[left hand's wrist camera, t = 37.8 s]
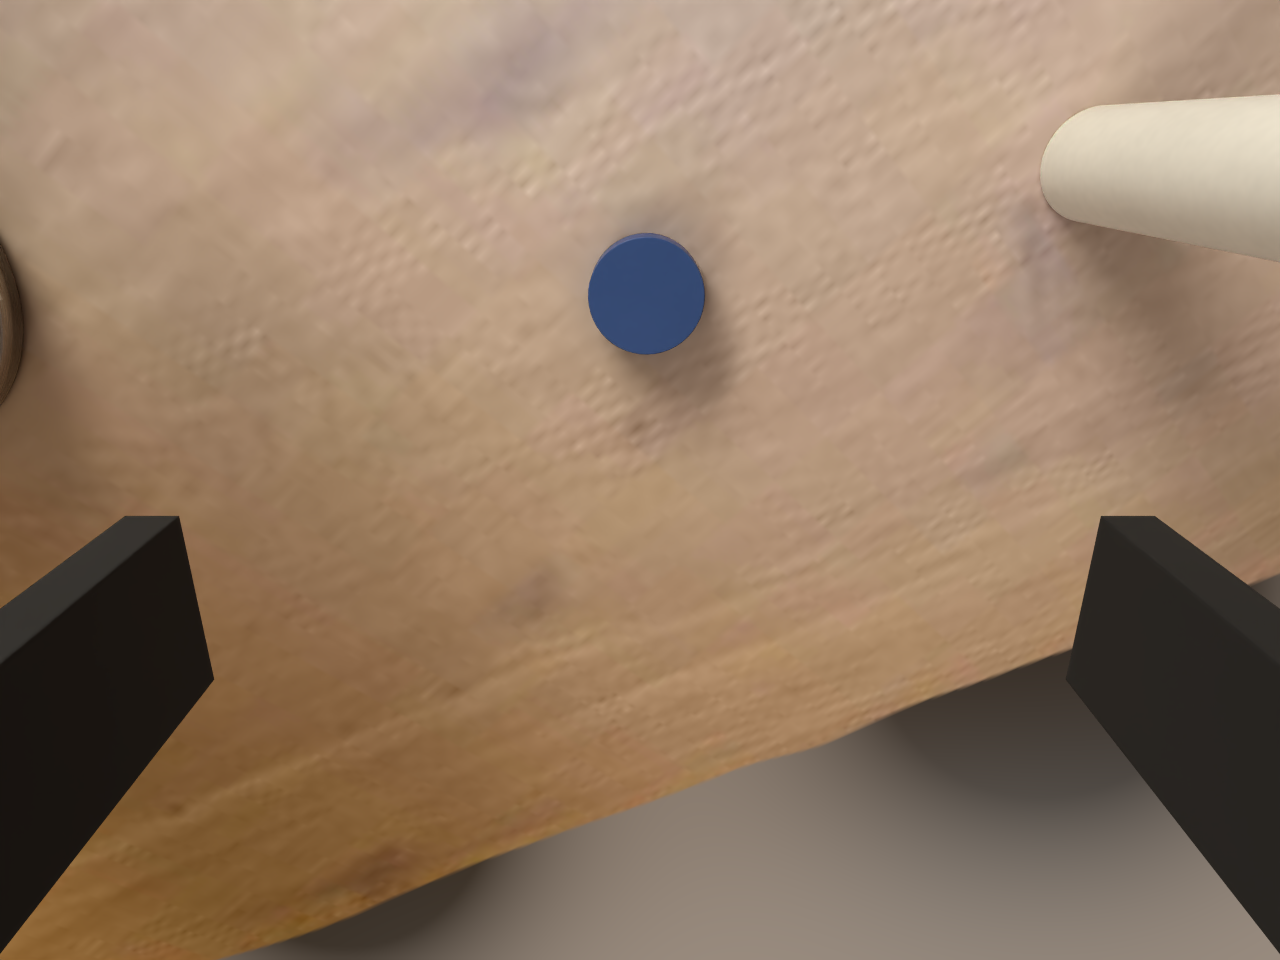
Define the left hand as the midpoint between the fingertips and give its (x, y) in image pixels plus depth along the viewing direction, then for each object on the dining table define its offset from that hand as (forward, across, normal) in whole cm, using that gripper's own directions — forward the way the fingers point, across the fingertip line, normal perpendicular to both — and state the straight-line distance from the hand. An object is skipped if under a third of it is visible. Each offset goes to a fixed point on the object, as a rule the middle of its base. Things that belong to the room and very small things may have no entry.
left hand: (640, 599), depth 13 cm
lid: (+26, 0, 0) cm, 26 cm away
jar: (+28, +19, +5) cm, 34 cm away
